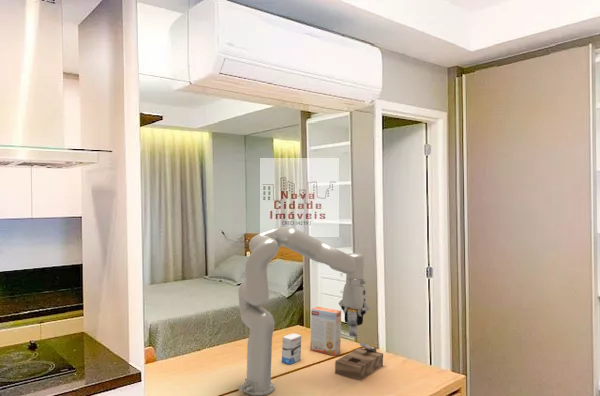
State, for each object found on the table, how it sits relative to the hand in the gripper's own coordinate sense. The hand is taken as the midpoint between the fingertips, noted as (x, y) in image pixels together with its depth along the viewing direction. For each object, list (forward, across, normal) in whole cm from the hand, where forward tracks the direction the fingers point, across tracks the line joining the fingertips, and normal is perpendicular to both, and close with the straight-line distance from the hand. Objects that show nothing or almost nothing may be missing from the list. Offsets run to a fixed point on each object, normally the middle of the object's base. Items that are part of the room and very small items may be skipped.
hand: (353, 322), depth 199 cm
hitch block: (+22, -1, -5) cm, 22 cm away
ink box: (+22, +28, +7) cm, 36 cm away
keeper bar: (+14, -1, -11) cm, 18 cm away
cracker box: (+22, +23, -14) cm, 35 cm away
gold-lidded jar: (+5, 0, 0) cm, 5 cm away
